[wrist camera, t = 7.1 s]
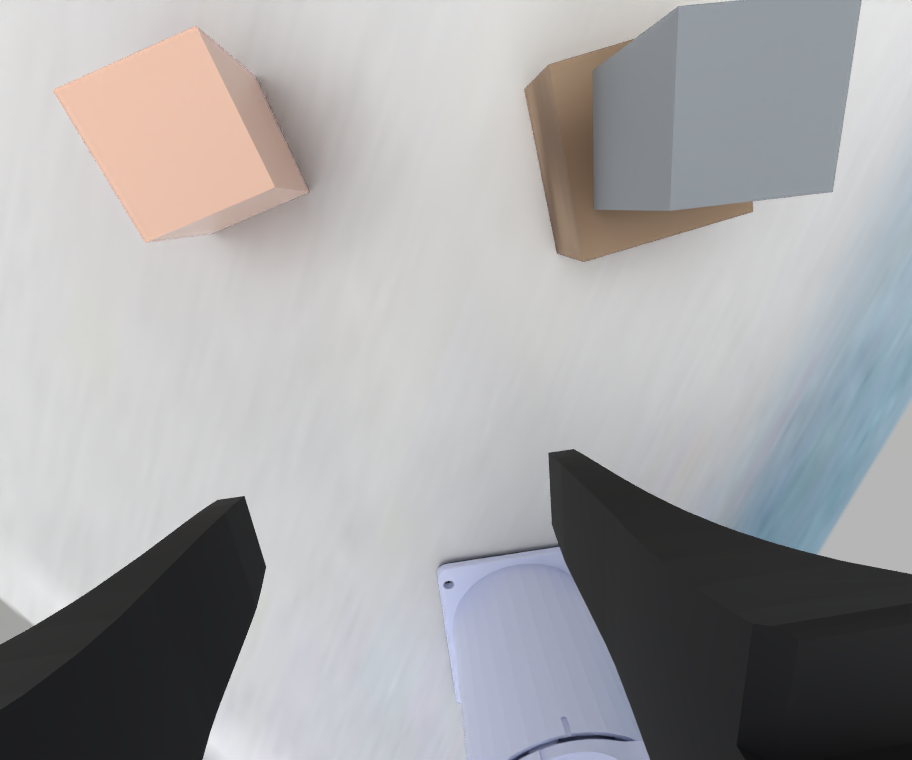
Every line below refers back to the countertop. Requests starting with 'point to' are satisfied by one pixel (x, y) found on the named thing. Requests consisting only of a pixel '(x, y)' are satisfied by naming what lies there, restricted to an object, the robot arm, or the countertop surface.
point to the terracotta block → (183, 137)
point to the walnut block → (571, 169)
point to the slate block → (724, 105)
